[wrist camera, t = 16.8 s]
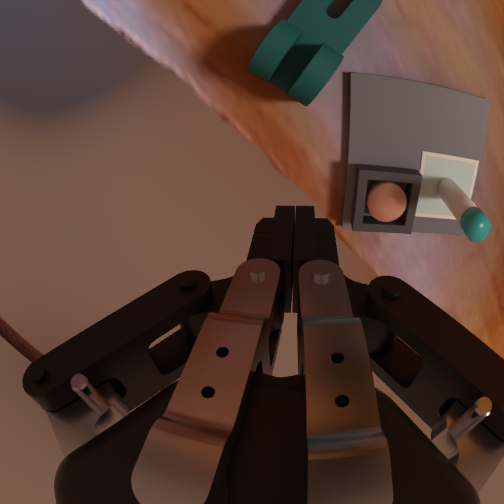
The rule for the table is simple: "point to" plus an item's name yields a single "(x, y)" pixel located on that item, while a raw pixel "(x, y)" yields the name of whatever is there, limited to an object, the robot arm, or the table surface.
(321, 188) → the table surface
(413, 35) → the table surface
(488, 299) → the table surface
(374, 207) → the button
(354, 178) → the drawing board
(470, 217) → the marker
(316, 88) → the bracket
